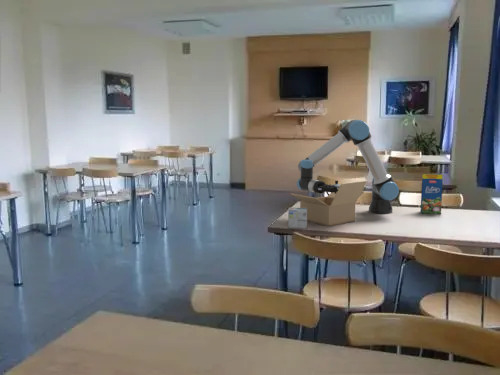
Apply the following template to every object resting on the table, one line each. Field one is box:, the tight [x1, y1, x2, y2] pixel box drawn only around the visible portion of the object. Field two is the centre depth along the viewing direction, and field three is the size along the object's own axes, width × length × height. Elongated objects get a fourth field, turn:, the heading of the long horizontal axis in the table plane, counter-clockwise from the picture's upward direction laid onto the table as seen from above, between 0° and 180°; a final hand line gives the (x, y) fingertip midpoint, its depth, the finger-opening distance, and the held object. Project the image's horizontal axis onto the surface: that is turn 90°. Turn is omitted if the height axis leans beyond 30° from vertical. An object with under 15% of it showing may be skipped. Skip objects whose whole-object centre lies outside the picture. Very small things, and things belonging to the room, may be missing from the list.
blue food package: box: [420, 173, 444, 215], centre depth 316 cm, size 6×12×25 cm, turn 75°
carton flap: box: [330, 179, 368, 206], centre depth 280 cm, size 16×21×1 cm
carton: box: [290, 190, 365, 228], centre depth 295 cm, size 25×40×17 cm, turn 127°
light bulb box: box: [287, 207, 308, 229], centre depth 279 cm, size 11×7×11 cm, turn 84°
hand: (346, 191), depth 280 cm, fingers closed
